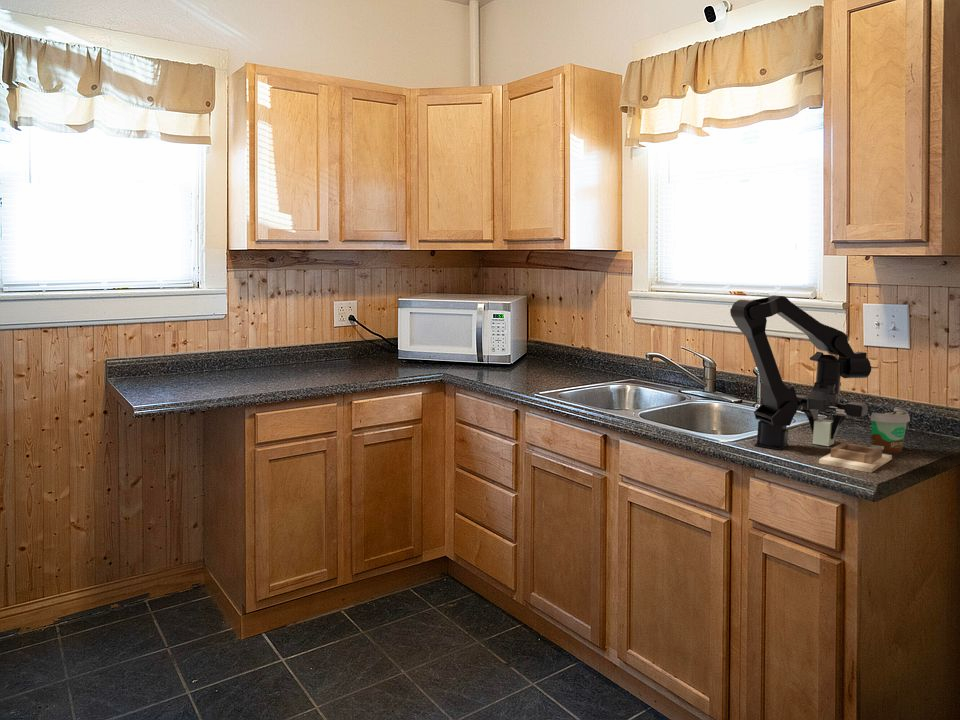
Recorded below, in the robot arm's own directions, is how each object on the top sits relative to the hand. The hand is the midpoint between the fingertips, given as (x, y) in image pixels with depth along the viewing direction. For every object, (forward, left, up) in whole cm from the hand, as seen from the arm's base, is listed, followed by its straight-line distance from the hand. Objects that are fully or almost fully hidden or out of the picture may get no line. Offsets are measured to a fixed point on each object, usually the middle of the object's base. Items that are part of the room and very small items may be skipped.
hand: (823, 437), depth 203 cm
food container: (+15, +6, -2) cm, 16 cm away
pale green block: (0, 0, -2) cm, 2 cm away
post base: (+12, -12, -2) cm, 17 cm away
